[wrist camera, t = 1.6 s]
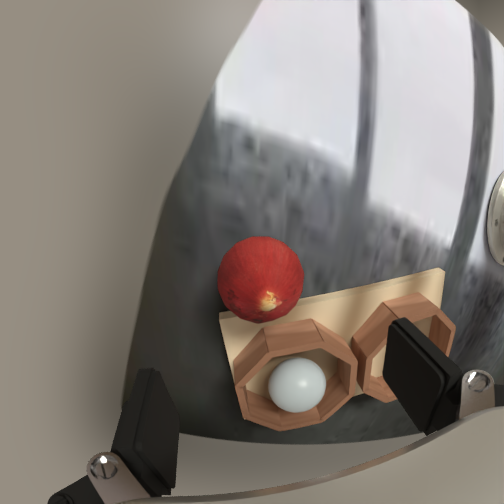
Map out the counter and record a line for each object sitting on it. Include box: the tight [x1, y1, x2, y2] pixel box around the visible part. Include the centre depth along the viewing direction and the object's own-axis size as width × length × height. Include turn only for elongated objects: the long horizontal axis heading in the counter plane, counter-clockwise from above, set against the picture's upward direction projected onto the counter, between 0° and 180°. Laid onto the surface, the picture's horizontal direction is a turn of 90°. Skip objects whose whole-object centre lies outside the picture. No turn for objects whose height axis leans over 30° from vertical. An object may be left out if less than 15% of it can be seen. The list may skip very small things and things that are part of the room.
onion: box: [218, 237, 304, 324], centre depth 20 cm, size 6×6×8 cm
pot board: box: [219, 268, 456, 431], centre depth 25 cm, size 22×13×5 cm, turn 98°
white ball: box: [268, 357, 326, 413], centre depth 23 cm, size 5×5×5 cm
